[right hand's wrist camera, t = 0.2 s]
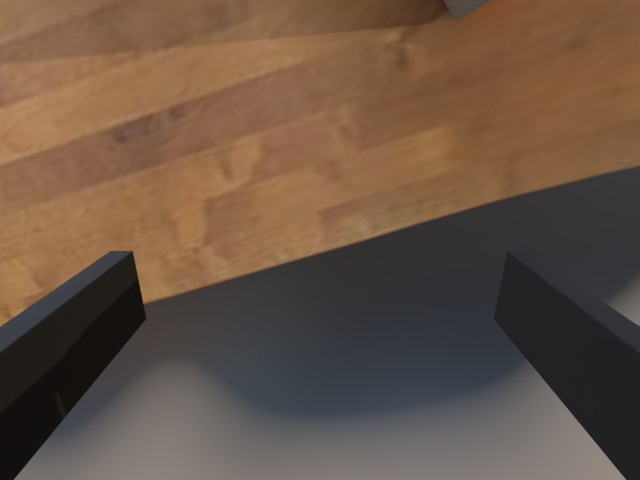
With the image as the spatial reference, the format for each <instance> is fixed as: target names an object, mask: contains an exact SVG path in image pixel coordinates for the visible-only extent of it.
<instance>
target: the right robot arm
mask: <svg viewBox="0 0 640 480" xmlns="http://www.w3.org/2000/svg"><path fill="white" fill-rule="evenodd" d="M145 320H146V315H145V310H144V305H143V300H142V295H141V290H140V285H139V280H138V275H137V271H136V266H135V261H134V256H133V251H110V252H109V253H107V254H106V255H104V256H103V257H101V258H100V259H99V260H97V261H96V262H94V263H93V264H91V265H90V266H88V267H87V268H85V269H84V270H82V271H81V272H80V273H78V274H77V275H75V276H74V277H72V278H71V279H69V280H68V281H66V282H65V283H64V284H62V285H61V286H59V287H58V288H56V289H55V290H53V291H52V292H50V293H49V294H48V295H46V296H45V297H43V298H42V299H40V300H39V301H37V302H36V303H34V304H33V305H31V306H30V307H29V308H27V309H26V310H24V311H23V312H21V313H20V314H18V315H17V316H15V317H14V318H13V319H11V320H10V321H8V322H7V323H5V324H4V325H2V326H1V327H0V480H14V479H15V477H16V476H17V475H18V474H19V473H20V471H21V470H22V469H23V468H24V467H25V465H26V464H27V463H28V462H29V460H30V459H31V458H32V457H33V456H34V454H35V453H36V452H37V451H38V450H39V448H40V447H41V446H42V445H43V443H44V442H45V441H46V440H47V439H48V437H49V436H50V435H51V434H52V433H53V431H54V430H55V429H56V428H57V426H58V425H59V424H60V423H61V422H62V420H63V419H64V418H65V417H66V415H67V414H68V413H69V412H70V411H71V409H72V408H73V407H74V406H75V405H76V403H77V402H78V401H79V400H80V399H81V397H82V396H83V395H84V394H85V392H86V391H87V390H88V389H89V387H90V386H91V385H92V384H93V383H94V381H95V380H96V379H97V378H98V377H99V375H100V374H101V373H102V372H103V371H104V369H105V368H106V367H107V366H108V364H109V363H110V362H111V361H112V360H113V358H114V357H115V356H116V355H117V354H118V352H119V351H120V350H121V349H122V347H123V346H124V345H125V344H126V343H127V341H128V340H129V339H130V338H131V337H132V335H133V334H134V333H135V332H136V330H137V329H138V328H139V327H140V326H141V324H142V323H143V322H144V321H145ZM494 320H495V321H496V322H497V323H498V324H499V326H500V327H501V328H502V329H503V330H504V332H505V333H506V334H507V335H508V337H509V338H510V339H511V340H512V341H513V343H514V344H515V345H516V346H517V347H518V349H519V350H520V351H521V352H522V354H523V355H524V356H525V357H526V358H527V360H528V361H529V362H530V363H531V365H532V366H533V367H534V368H535V369H536V371H537V372H538V373H539V374H540V375H541V377H542V378H543V379H544V380H545V381H546V383H547V384H548V385H549V386H550V388H551V389H552V390H553V391H554V392H555V394H556V395H557V396H558V397H559V399H560V400H561V401H562V402H563V403H564V405H565V406H566V407H567V408H568V409H569V411H570V412H571V413H572V414H573V415H574V417H575V418H576V419H577V420H578V422H579V423H580V424H581V425H582V426H583V428H584V429H585V430H586V431H587V433H588V434H589V435H590V436H591V437H592V438H593V440H594V441H595V442H596V443H597V445H598V446H599V447H600V448H601V450H602V451H603V452H604V453H605V454H606V456H607V457H608V458H609V459H610V460H611V462H612V463H613V464H614V465H615V467H616V468H617V469H618V470H619V471H620V473H621V474H622V475H623V476H624V477H625V479H626V480H640V326H638V325H636V324H635V323H633V322H632V321H630V320H629V319H627V318H626V317H625V316H623V315H622V314H620V313H619V312H617V311H616V310H614V309H613V308H611V307H610V306H609V305H607V304H606V303H604V302H603V301H601V300H600V299H598V298H597V297H595V296H594V295H592V294H591V293H590V292H588V291H587V290H585V289H584V288H582V287H581V286H579V285H578V284H576V283H575V282H574V281H572V280H571V279H569V278H568V277H566V276H565V275H563V274H562V273H560V272H559V271H557V270H556V269H555V268H553V267H552V266H550V265H549V264H547V263H546V262H544V261H543V260H541V259H540V258H539V257H537V256H536V255H534V254H533V253H531V252H530V251H507V256H506V261H505V266H504V271H503V276H502V280H501V285H500V290H499V295H498V300H497V305H496V310H495V315H494Z"/></svg>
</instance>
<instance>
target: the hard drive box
mask: <svg viewBox="0 0 640 480" xmlns="http://www.w3.org/2000/svg"><path fill="white" fill-rule="evenodd" d="M443 1H444V3H445V4H446V6H447V8H448V10H449V11H450V13H451V15H452V16H453V18H454V19H455V20H458V19H460V18H462V17H463V16H465V15H467V14H468V13H470V12H472V11H473V10H475V9H477V8H478V7H480V6H481V5H483V4H485V3H487V2H488V1H490V0H443Z"/></svg>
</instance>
